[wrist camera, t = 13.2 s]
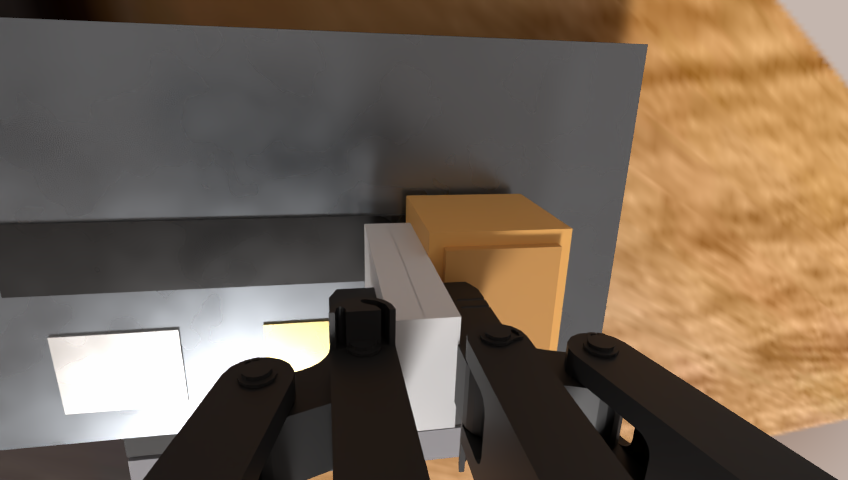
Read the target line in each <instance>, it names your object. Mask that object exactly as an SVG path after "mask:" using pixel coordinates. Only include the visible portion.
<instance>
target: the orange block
mask: <svg viewBox="0 0 848 480" xmlns="http://www.w3.org/2000/svg"><path fill="white" fill-rule="evenodd" d="M406 223H411V225H412V227H413V229H414V231H415V232H416V234H417V236H418V238H419V240H420V242H421V244H422V245H423V247H424V249H425V251H426V253H427V255H428V257H429V258H430V260H431V262H432V263H433V265H434V267H435V269H436V271H437V273H438V275H439V276H440V278H441V280H442V282H443V283H446V282H467V283H469V284H471V285H472V286H474V287H476V288H477V289H478V290H479V291H480V293H481V294H482V295H483V297H484V300H486V301H487V303H488V304H489V307H491V309H492V310H493V312H494V313H495V315H496V316H497V318H498V319H499V320H500V322H501V323H502V324H504V325H509V326H512V327H514V328H517V329H519V330H521V331H522V332H523V333H524V334H526V335H527V336H528V338H529V339H530V340H531V342H532V343H533V345H534V346H535V347H536V348H538V349H544V350H552V351H557V346H558V338H559V330H560V322H561V315H562V307H563V299H564V292H565V284H566V276H567V268H568V261H569V253H570V245H571V238H572V230H573V229H572V228H571V227H569V226H568V225H566V224H565V223H563V222H562V221H560V220H559V219H557V218H556V217H554V216H553V215H551V214H550V213H548V212H547V211H545V210H544V209H542V208H541V207H540V206H538V205H537V204H535V203H534V202H532V201H531V200H529V199H528V198H526V197H525V196H523V195H522V194H472V195H410V196H406Z"/></svg>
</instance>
